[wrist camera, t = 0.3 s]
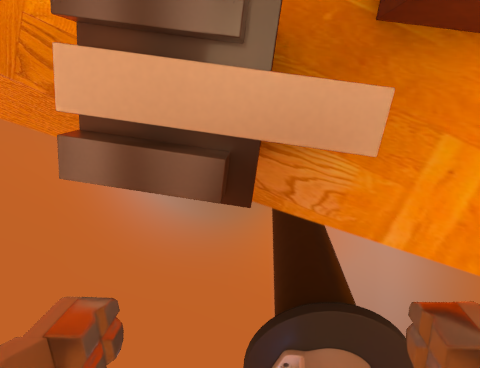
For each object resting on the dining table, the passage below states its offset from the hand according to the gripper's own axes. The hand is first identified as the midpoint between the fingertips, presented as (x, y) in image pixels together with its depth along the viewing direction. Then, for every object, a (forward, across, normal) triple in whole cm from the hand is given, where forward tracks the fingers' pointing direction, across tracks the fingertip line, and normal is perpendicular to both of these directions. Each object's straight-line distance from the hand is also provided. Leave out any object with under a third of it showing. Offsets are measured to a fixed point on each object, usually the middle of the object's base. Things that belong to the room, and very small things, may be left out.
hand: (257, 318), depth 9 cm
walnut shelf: (+34, -6, +6) cm, 35 cm away
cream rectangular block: (+14, -3, +6) cm, 16 cm away
